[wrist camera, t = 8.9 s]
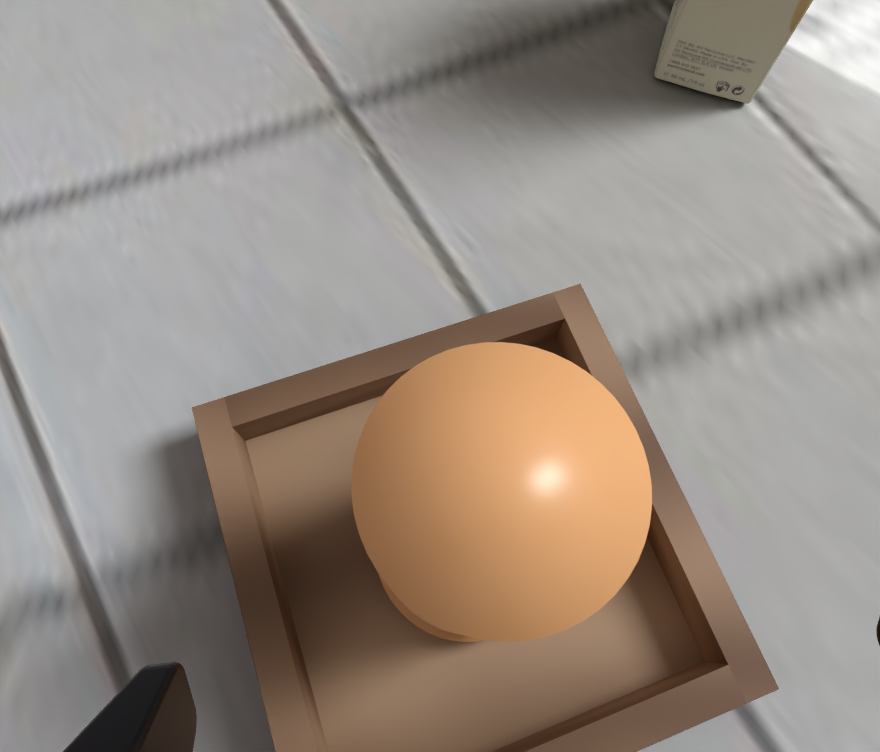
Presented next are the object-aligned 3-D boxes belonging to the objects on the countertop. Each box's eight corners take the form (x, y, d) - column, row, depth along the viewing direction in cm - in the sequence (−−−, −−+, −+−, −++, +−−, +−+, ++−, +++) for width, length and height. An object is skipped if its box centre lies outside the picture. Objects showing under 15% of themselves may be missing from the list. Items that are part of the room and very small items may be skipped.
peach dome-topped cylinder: (587, 567, 20) (731, 517, 11) (445, 681, 19) (469, 735, 10) (480, 429, 22) (527, 280, 12) (342, 526, 20) (277, 443, 11)
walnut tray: (741, 682, 20) (779, 688, 18) (323, 863, 18) (310, 894, 16) (566, 313, 24) (580, 283, 22) (213, 427, 22) (191, 407, 20)
